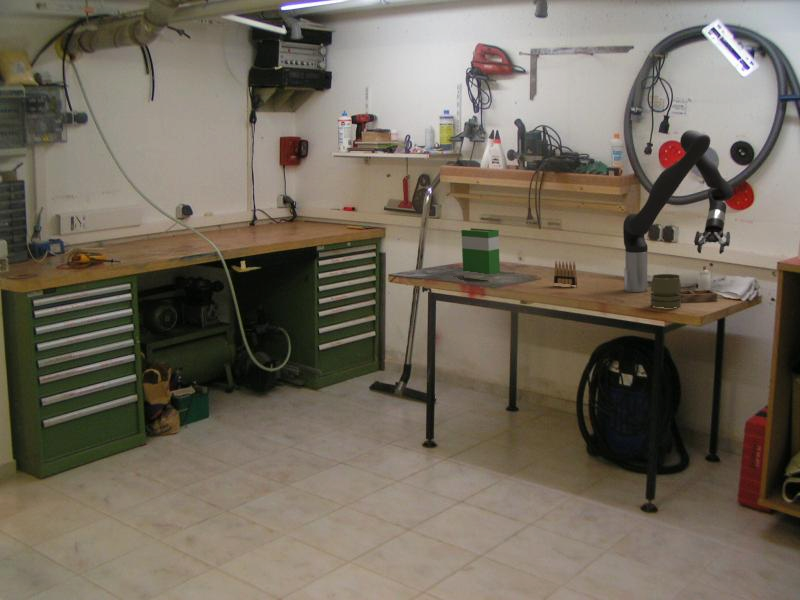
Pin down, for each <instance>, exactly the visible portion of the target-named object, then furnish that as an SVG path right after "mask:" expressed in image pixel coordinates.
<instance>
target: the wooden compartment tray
mask: <svg viewBox="0 0 800 600" xmlns="http://www.w3.org/2000/svg"><path fill="white" fill-rule="evenodd" d="M678 293H680V294H681V298H680V299H681V303H700V302H701V303H703V302H704V303H705V302H707V303H708V302H718V293H717V292H716V291H714V290H712V289H710V290H698V289H693V290H692V289H691V290H681V291H680V292H678Z"/></svg>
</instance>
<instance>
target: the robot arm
mask: <svg viewBox="0 0 800 600" xmlns="http://www.w3.org/2000/svg"><path fill="white" fill-rule="evenodd" d="M680 146H681V149H682V150H683V151H684V152H685V154H684V155H683V156H682V157H681V158H680V159H679V160H677V161H676V162H675V163H672V165H670V166H668V167H667V168H665V169H664V170H663V171H662V172H661V173H660V174H659V175H658V177H657V178H656V180H655V181H654V182H653V184H652V186H651V188H650V191H649V195H648V198H647V200H646V202H645V203H644V205H643V206H642V208H641V209H640V210H639V212H638V213H630V214H629V215H627V216H625V218H624V220H623V227H622V228H623V229H622V230H623V232H622V233H623V245H624V247H625V249H624V250H625V252H624V253H625V267H624V271H623V273H624V281H623V282H624V290H625V292H626V293H627V292H628V293H642V292H647V291H648V286H649V285H648V250H649V249H648V248H649V247H648V243H647V242H646V239H645V235H647V233H648V232H649V231H650V229H651V228H652V226H653V224H654V223H655V221H656V219H657V217H658V215H659V214H660V212H661V211H662V210H663V208H664V207H665V206H666V205H667V203H668V202H669V200H670V199H671V198H672V196H673V195H674V194H675V193H676V191H677V190H678V188H679V187H680V185H681V184H682V182H683V181H684V179H685V178H686V176H687V175H689V173H690V172H691V170H692V168H694V166H695V167H696V168H697V170H698V172H699V173H700V174H701V177H702V179H703V180H704V183H705V185H706V186H707V187H708V188H709V189H708V191H707V197H708V201H709V202H708V203H709V204H708V205H709V207H708V213H707V217H706V219H705V221H706V222H705V227H704V231H703V232H700V231H698V230H697V231H696V232H695V235H694V240H693V242H694V246H697V249H696V250H697V252H698V254H702V248H703V245H706V244H708V243H718V244H719V251H718V252H719V254H720V255H722V253H724V252H725V251H724V250H725V247H730V243H731V233H730V231H727V232H724V228H725V223H726V211H727V203H725V202H726V201H729V200H731V199H732V198H733V197H734V188H733V187H732V185H731V184H730V183H729V182H728V181H727V180H725V178H724V177H723V176H722V174H721V173H720V171H719V169H718V167H717V166H716V164H715V163H714V162H713V161H712V160H711V159H710V158H709V157H708V156H707V155H706V152H707V151H708V149H709V148H710V146H711V137H710V135H708V134H706V133H704V132H700V131H698V130H693V129H689V130H688V129H687V130H686V131H684V132H683V133H682V135H681V137H680ZM724 201H725V202H724ZM723 237H724V238H725V241H724V240H723V239H722V238H723Z"/></svg>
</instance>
